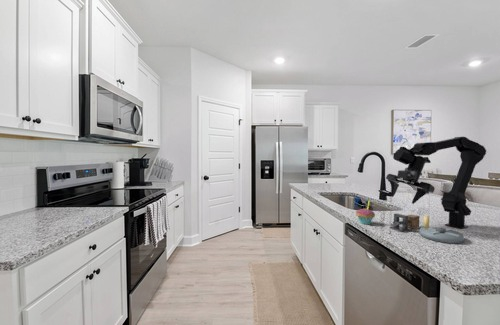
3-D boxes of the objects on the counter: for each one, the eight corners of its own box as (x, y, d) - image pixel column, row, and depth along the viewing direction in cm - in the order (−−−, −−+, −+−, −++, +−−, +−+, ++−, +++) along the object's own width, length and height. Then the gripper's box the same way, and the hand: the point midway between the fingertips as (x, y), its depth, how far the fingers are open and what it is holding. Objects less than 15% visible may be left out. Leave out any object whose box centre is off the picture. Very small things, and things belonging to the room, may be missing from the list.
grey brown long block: (411, 225, 117) (411, 214, 117) (419, 226, 113) (419, 216, 113) (388, 229, 110) (388, 218, 110) (395, 231, 107) (395, 220, 106)
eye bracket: (396, 226, 115) (397, 212, 115) (412, 230, 109) (412, 216, 108) (389, 228, 113) (389, 213, 113) (404, 232, 106) (405, 217, 106)
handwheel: (432, 229, 109) (432, 214, 109) (471, 239, 96) (471, 221, 96) (412, 234, 103) (412, 217, 103) (451, 245, 90) (451, 226, 90)
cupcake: (373, 221, 124) (373, 198, 123) (376, 226, 116) (376, 201, 115) (354, 220, 126) (355, 197, 126) (356, 224, 118) (356, 200, 118)
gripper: (386, 158, 116) (374, 189, 116) (431, 167, 100) (416, 202, 100) (397, 166, 122) (385, 195, 122) (440, 175, 106) (427, 209, 106)
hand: (401, 200), depth 112 cm, fingers open, 9 cm apart
